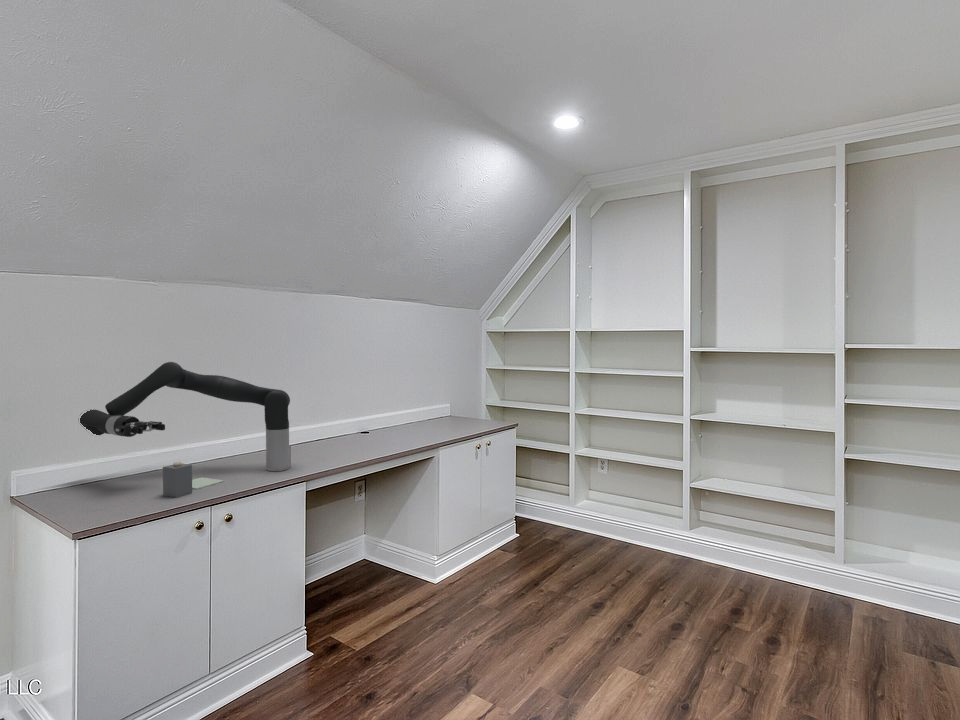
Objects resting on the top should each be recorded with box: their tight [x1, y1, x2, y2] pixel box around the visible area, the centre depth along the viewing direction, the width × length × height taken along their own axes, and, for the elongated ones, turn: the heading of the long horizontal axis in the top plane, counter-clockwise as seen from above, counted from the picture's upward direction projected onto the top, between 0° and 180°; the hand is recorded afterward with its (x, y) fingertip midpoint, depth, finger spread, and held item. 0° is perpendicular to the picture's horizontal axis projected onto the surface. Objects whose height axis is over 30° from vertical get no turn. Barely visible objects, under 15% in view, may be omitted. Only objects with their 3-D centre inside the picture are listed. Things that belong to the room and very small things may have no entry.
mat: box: [192, 477, 225, 490], centre depth 208 cm, size 12×12×1 cm
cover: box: [162, 461, 193, 498], centre depth 194 cm, size 6×6×11 cm
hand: (153, 429), depth 198 cm, fingers open, 8 cm apart
